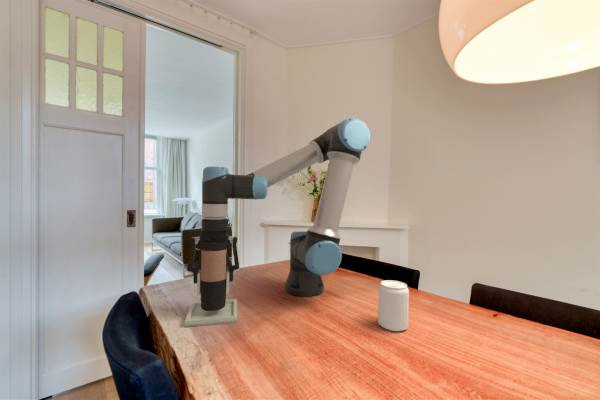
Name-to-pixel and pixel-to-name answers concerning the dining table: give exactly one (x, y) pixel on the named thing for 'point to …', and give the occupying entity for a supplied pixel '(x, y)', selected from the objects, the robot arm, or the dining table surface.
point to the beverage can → (393, 305)
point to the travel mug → (213, 275)
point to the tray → (211, 315)
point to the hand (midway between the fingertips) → (213, 292)
